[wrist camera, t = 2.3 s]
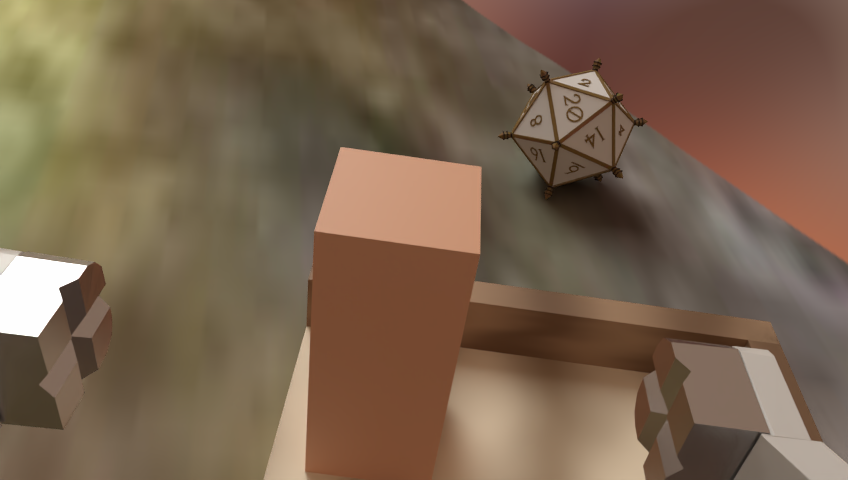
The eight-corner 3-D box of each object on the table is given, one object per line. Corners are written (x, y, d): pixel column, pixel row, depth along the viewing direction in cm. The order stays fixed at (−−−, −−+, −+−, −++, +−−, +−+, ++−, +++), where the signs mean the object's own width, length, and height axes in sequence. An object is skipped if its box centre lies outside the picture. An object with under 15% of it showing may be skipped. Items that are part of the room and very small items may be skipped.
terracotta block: (304, 471, 29) (314, 231, 22) (326, 377, 33) (341, 147, 26) (429, 488, 29) (480, 254, 22) (436, 391, 33) (481, 166, 26)
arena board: (237, 590, 26) (233, 528, 24) (311, 319, 37) (314, 258, 35) (842, 668, 27) (899, 615, 24) (738, 378, 38) (770, 321, 35)
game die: (572, 233, 53) (674, 183, 44) (469, 192, 50) (557, 130, 41) (583, 127, 56) (680, 62, 48) (488, 83, 53) (572, 6, 45)
